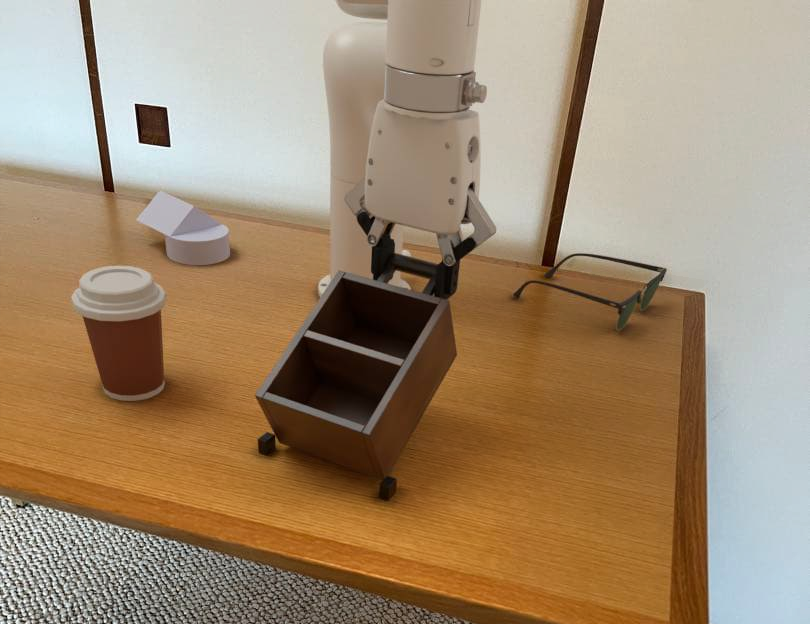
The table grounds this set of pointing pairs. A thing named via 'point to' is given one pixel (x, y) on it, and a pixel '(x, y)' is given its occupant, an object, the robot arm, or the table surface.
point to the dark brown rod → (386, 486)
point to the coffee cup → (124, 329)
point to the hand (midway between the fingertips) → (412, 289)
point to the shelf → (362, 369)
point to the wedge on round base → (187, 231)
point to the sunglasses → (623, 308)
